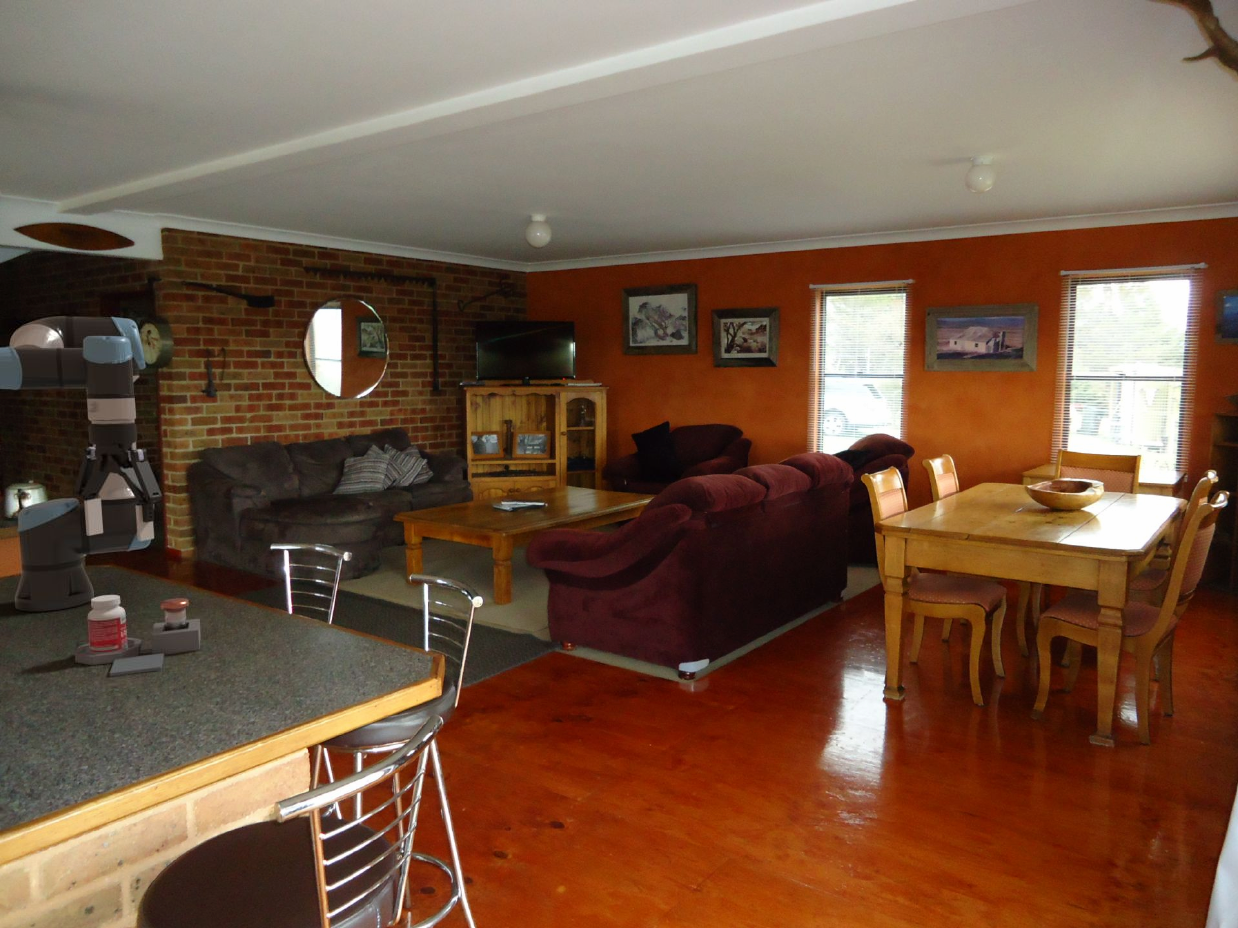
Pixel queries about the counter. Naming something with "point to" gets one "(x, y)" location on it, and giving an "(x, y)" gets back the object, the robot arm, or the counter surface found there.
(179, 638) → the housing
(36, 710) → the counter surface
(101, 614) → the pill bottle
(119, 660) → the mat
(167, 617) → the plunger
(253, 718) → the counter surface
